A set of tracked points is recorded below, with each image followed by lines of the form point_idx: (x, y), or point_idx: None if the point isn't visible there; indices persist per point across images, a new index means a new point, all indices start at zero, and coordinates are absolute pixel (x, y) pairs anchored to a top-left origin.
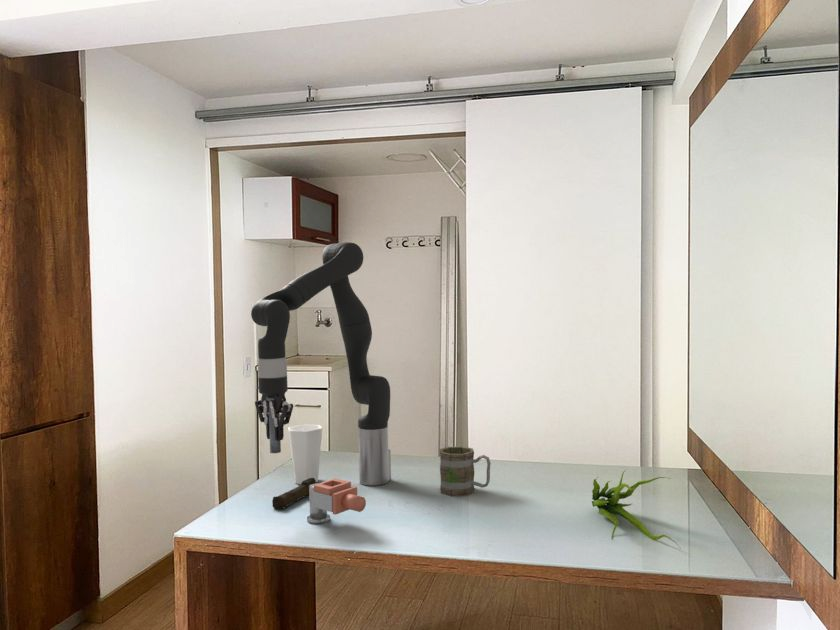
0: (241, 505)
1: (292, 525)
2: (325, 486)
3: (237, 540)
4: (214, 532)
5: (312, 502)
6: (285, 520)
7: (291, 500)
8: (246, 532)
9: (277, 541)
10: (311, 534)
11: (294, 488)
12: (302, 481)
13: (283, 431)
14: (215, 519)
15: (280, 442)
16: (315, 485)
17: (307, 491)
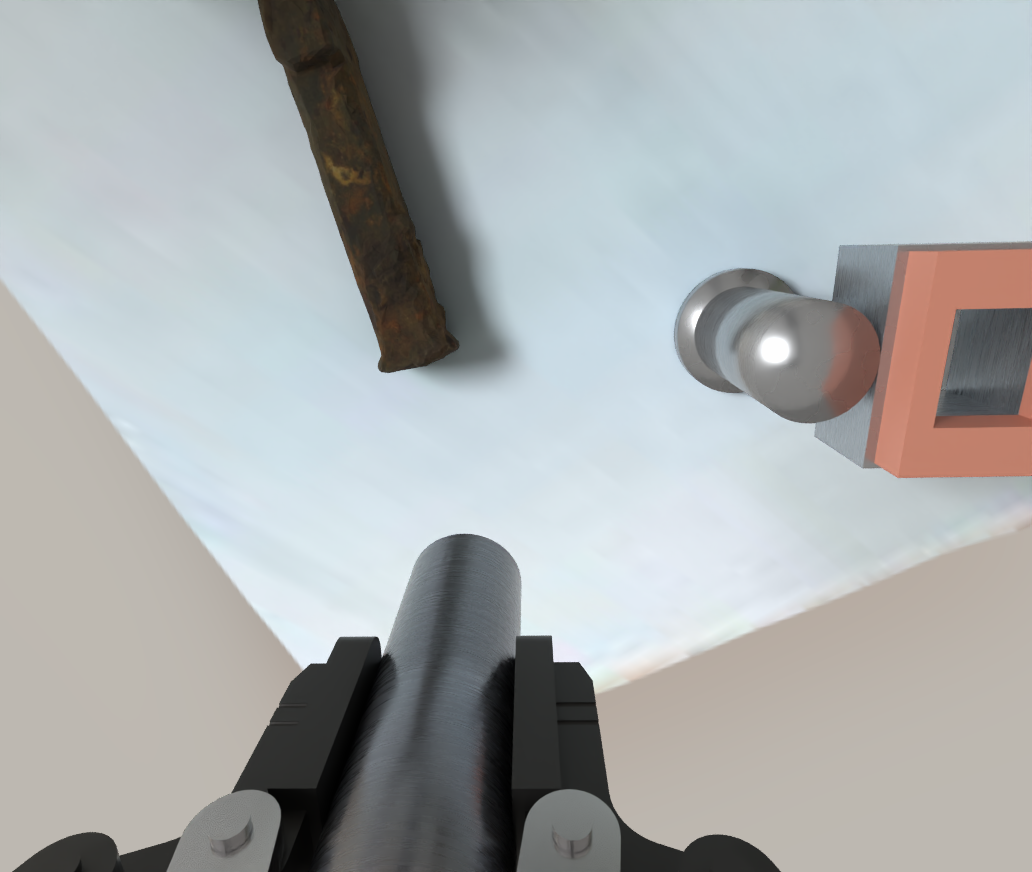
0: (216, 426)
1: (675, 456)
2: (1002, 448)
3: (615, 683)
4: None
5: (829, 443)
6: (592, 433)
7: (425, 265)
8: (571, 619)
9: (764, 606)
10: (839, 478)
11: (327, 165)
12: (270, 43)
13: (597, 732)
14: (318, 606)
15: (498, 605)
16: (918, 474)
17: (359, 74)
